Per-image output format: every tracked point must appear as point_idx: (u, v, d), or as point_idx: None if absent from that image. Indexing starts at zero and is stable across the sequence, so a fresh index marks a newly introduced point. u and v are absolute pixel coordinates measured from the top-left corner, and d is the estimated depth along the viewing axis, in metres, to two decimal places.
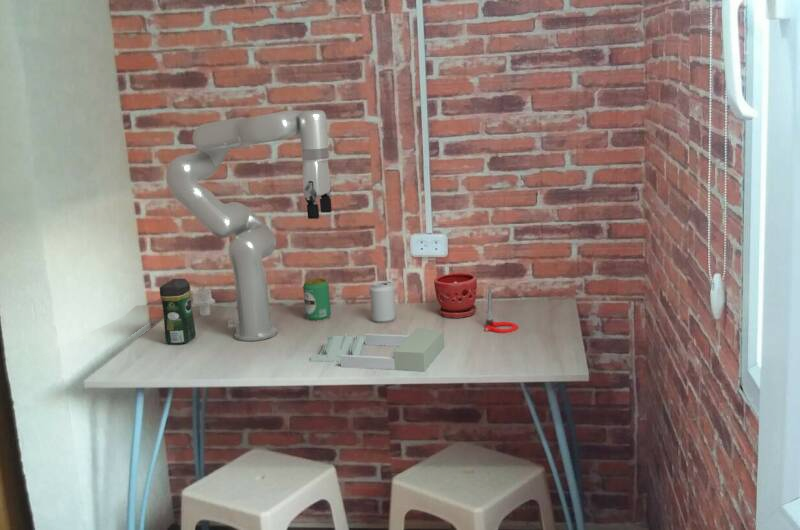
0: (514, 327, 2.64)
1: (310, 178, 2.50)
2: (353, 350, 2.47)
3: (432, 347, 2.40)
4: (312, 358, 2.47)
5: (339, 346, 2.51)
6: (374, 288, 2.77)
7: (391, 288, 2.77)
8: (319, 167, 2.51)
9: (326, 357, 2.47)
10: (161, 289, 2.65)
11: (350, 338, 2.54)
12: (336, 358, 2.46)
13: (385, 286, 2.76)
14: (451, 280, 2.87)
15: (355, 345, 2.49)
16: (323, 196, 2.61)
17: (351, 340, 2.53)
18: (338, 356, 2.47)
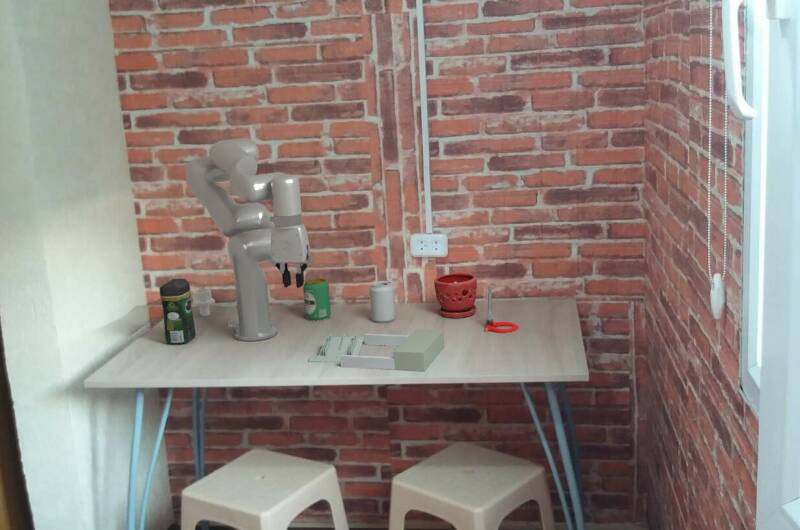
0: (514, 327, 2.64)
1: (306, 242, 2.47)
2: (352, 351, 2.47)
3: (432, 347, 2.40)
4: (311, 359, 2.47)
5: (338, 347, 2.51)
6: (374, 288, 2.77)
7: (391, 288, 2.77)
8: None
9: (325, 358, 2.46)
10: (161, 289, 2.65)
11: (348, 339, 2.54)
12: (335, 359, 2.46)
13: (385, 286, 2.76)
14: (451, 280, 2.87)
15: (354, 346, 2.49)
16: (285, 270, 2.50)
17: (350, 341, 2.53)
18: (337, 357, 2.46)
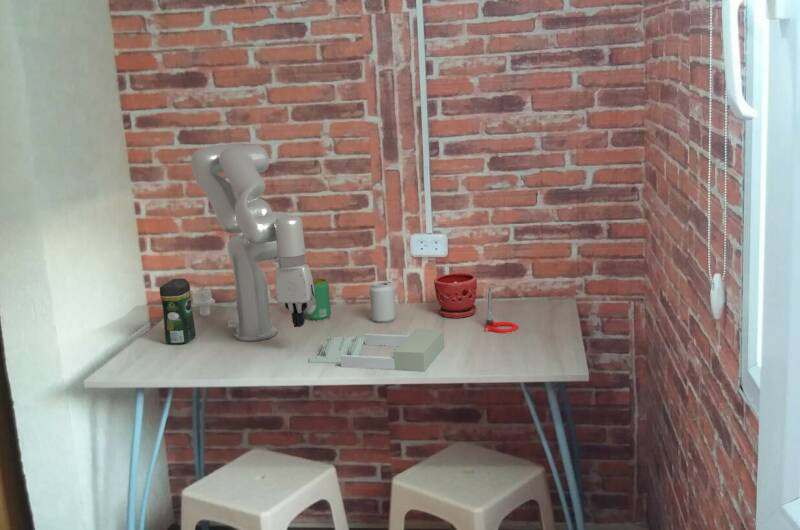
0: (514, 327, 2.64)
1: (311, 282, 2.49)
2: (352, 351, 2.46)
3: (432, 347, 2.40)
4: (311, 359, 2.46)
5: (338, 347, 2.50)
6: (374, 288, 2.77)
7: (391, 288, 2.77)
8: None
9: (325, 358, 2.46)
10: (161, 289, 2.65)
11: (349, 339, 2.53)
12: (335, 359, 2.45)
13: (385, 286, 2.76)
14: (451, 280, 2.87)
15: (354, 346, 2.48)
16: (295, 310, 2.51)
17: (350, 341, 2.52)
18: (337, 357, 2.46)
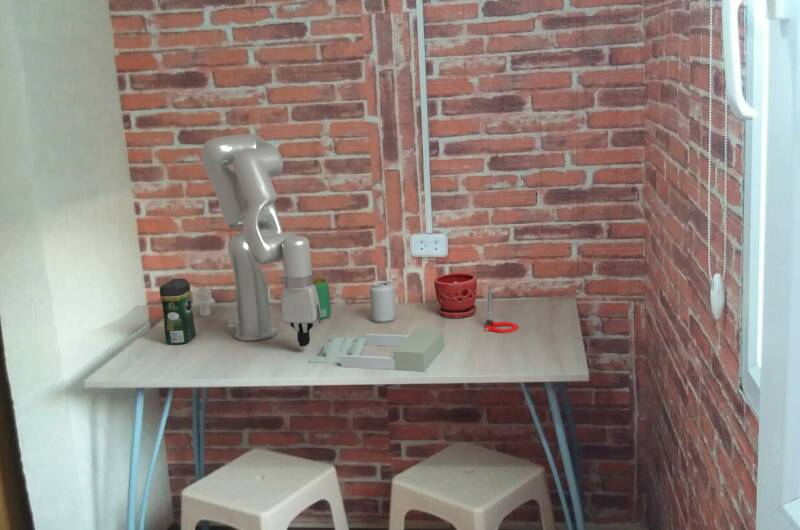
0: (514, 327, 2.64)
1: (317, 302, 2.50)
2: (352, 352, 2.46)
3: (432, 347, 2.40)
4: (311, 360, 2.46)
5: (339, 348, 2.50)
6: (374, 288, 2.77)
7: (391, 288, 2.77)
8: None
9: (325, 359, 2.46)
10: (161, 289, 2.65)
11: (351, 340, 2.53)
12: (335, 360, 2.45)
13: (385, 286, 2.76)
14: (451, 280, 2.87)
15: (355, 347, 2.48)
16: (300, 329, 2.53)
17: (351, 342, 2.52)
18: (337, 358, 2.45)
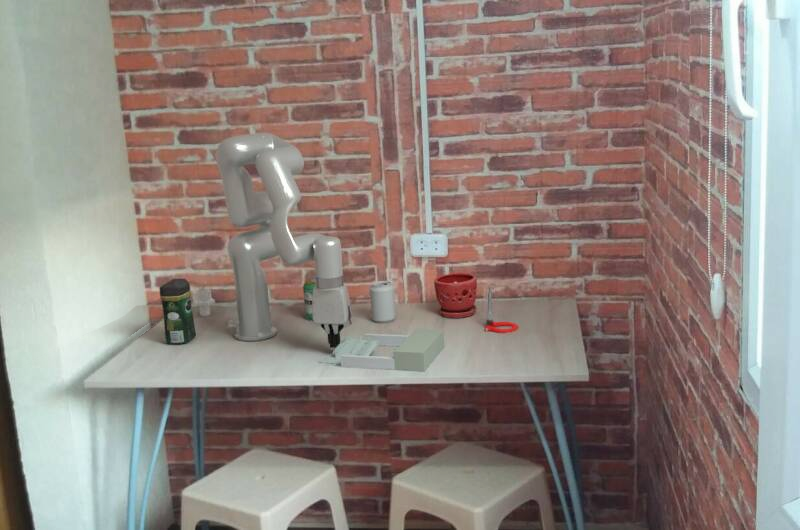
0: (514, 327, 2.64)
1: (348, 303, 2.47)
2: (361, 355, 2.43)
3: (432, 347, 2.40)
4: (321, 359, 2.46)
5: (350, 349, 2.48)
6: (374, 288, 2.77)
7: (391, 288, 2.77)
8: None
9: (334, 360, 2.45)
10: (161, 289, 2.65)
11: (364, 342, 2.50)
12: None
13: (385, 286, 2.76)
14: (451, 280, 2.87)
15: (364, 350, 2.45)
16: (331, 330, 2.50)
17: (364, 344, 2.49)
18: None
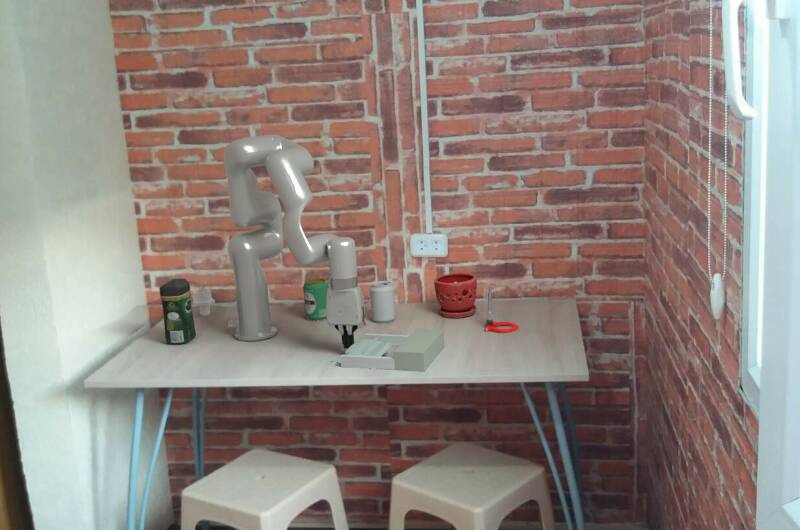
0: (514, 327, 2.64)
1: (362, 304, 2.46)
2: None
3: (432, 347, 2.40)
4: (333, 359, 2.46)
5: (364, 350, 2.47)
6: (374, 288, 2.77)
7: (391, 288, 2.77)
8: None
9: None
10: (161, 289, 2.65)
11: (378, 343, 2.48)
12: None
13: (385, 286, 2.76)
14: (451, 280, 2.87)
15: (376, 351, 2.43)
16: (345, 331, 2.49)
17: (378, 345, 2.47)
18: None
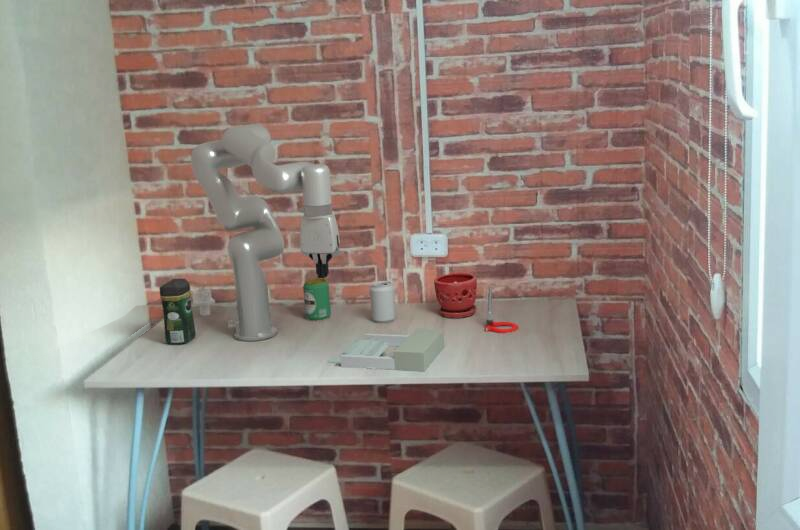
0: (514, 327, 2.64)
1: (336, 232, 2.43)
2: None
3: (432, 347, 2.40)
4: (330, 359, 2.46)
5: (361, 350, 2.47)
6: (374, 288, 2.77)
7: (391, 288, 2.77)
8: None
9: None
10: (161, 289, 2.65)
11: (375, 343, 2.48)
12: None
13: (385, 286, 2.76)
14: (451, 280, 2.87)
15: (374, 351, 2.43)
16: (319, 260, 2.46)
17: (375, 345, 2.47)
18: None
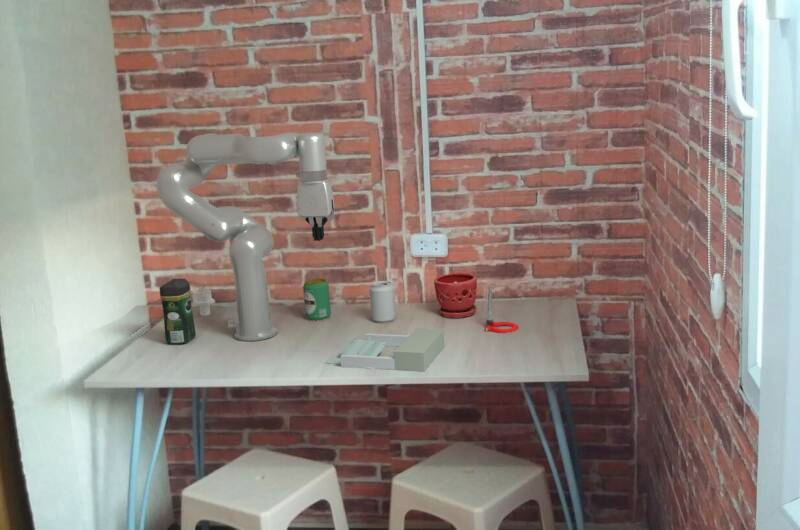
0: (514, 327, 2.64)
1: (331, 196, 2.58)
2: None
3: (432, 347, 2.40)
4: (327, 360, 2.45)
5: (358, 350, 2.47)
6: (374, 288, 2.77)
7: (391, 288, 2.77)
8: None
9: (340, 361, 2.44)
10: (161, 289, 2.65)
11: (371, 343, 2.49)
12: None
13: (385, 286, 2.76)
14: (451, 280, 2.87)
15: (371, 351, 2.43)
16: (315, 224, 2.61)
17: (371, 345, 2.48)
18: None
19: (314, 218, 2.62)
